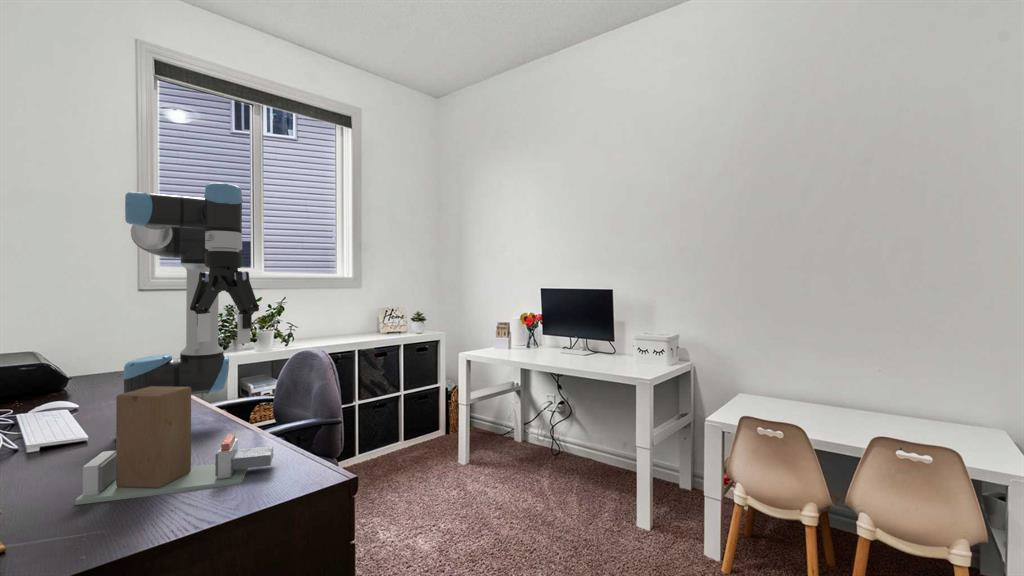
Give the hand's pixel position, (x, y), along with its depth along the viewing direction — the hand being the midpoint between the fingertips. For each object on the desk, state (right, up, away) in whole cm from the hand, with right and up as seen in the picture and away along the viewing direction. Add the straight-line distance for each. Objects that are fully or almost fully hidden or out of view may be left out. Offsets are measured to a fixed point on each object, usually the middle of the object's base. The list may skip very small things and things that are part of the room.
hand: (223, 342), depth 117 cm
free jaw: (+4, -30, +2) cm, 30 cm away
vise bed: (-10, -31, -3) cm, 33 cm away
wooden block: (-13, -31, -4) cm, 33 cm away
